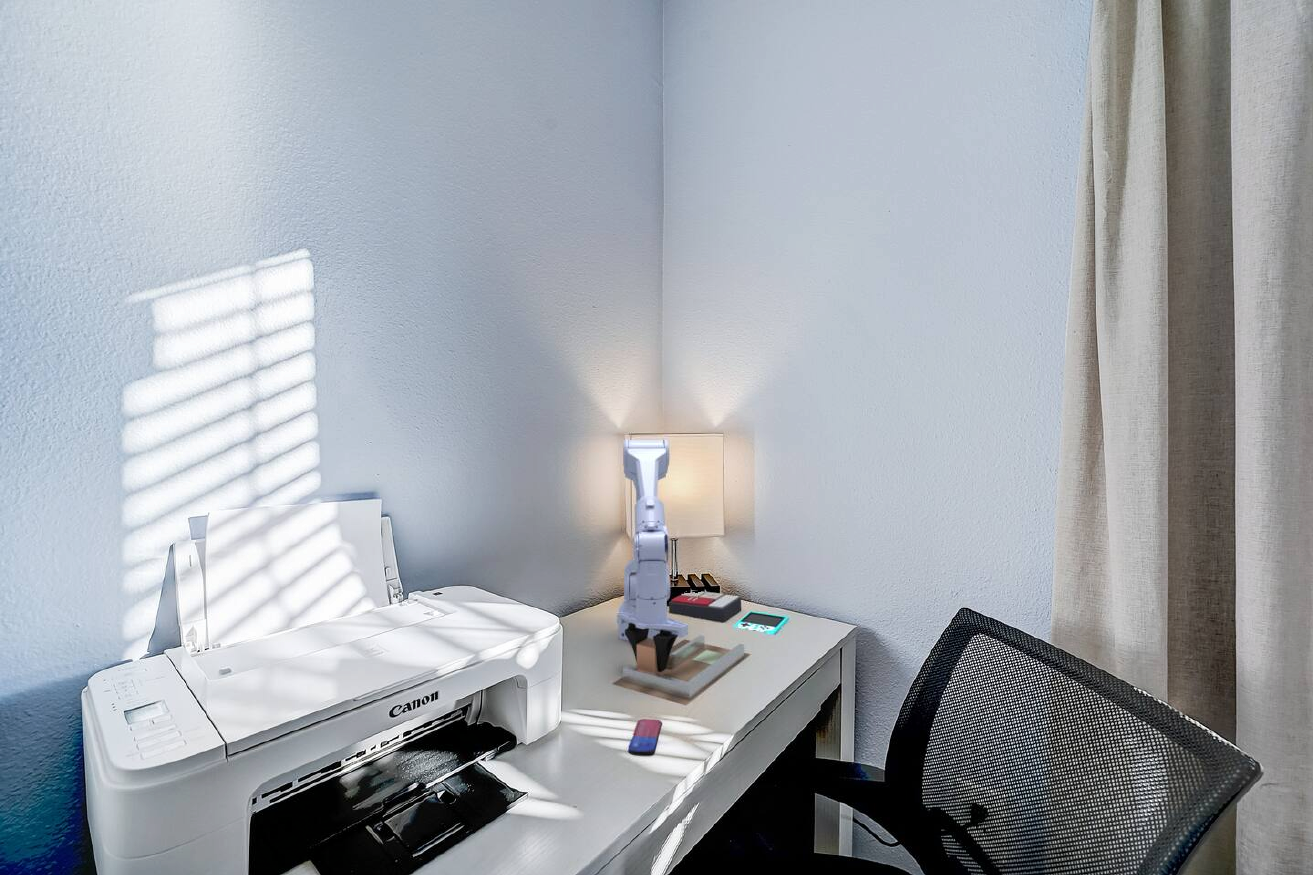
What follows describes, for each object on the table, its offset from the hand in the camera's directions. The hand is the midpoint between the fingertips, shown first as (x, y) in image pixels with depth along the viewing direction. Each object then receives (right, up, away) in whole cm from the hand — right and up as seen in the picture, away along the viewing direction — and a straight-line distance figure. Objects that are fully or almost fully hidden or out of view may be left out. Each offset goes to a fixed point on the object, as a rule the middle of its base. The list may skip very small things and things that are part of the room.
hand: (651, 667), depth 119 cm
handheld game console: (+25, -2, +29) cm, 38 cm away
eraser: (-1, -4, -22) cm, 22 cm away
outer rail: (+7, -1, +3) cm, 7 cm away
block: (0, -1, 0) cm, 1 cm away
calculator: (+13, -1, +40) cm, 42 cm away
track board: (+6, -2, +3) cm, 8 cm away
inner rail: (+5, -1, +9) cm, 11 cm away
